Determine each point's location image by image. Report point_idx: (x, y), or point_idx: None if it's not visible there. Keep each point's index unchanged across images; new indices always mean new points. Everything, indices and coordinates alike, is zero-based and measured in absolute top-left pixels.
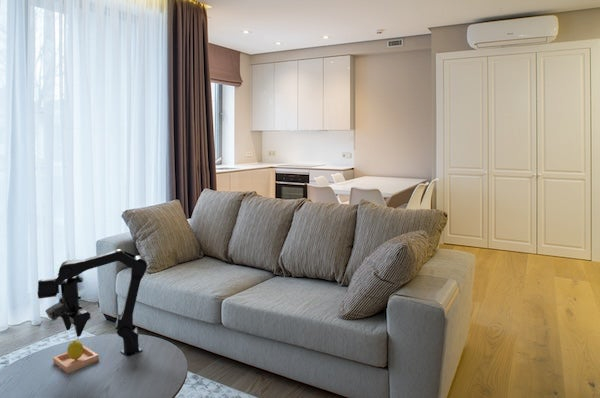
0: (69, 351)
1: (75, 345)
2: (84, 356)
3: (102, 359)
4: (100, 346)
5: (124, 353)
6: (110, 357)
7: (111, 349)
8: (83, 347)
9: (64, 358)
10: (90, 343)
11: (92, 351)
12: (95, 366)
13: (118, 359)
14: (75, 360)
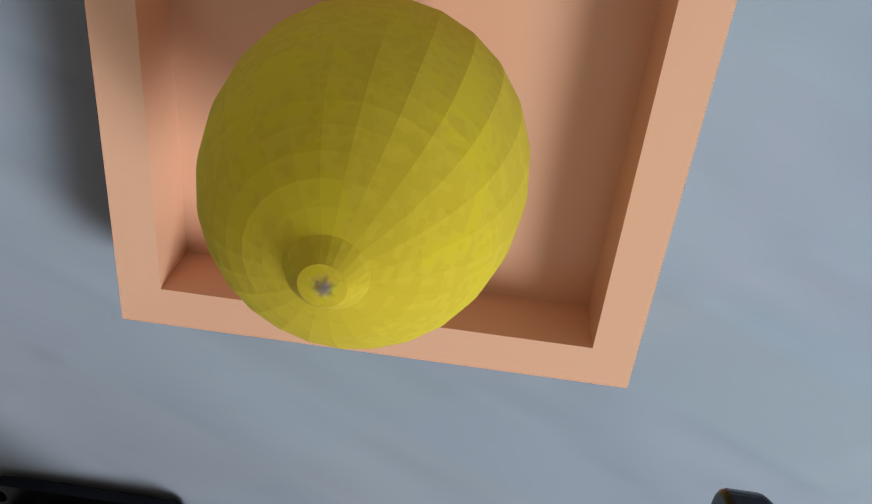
0: (313, 28)
1: (211, 195)
2: None
3: None
4: (553, 489)
5: (65, 494)
6: (141, 380)
7: (345, 496)
8: (582, 352)
9: (657, 7)
10: (771, 487)
11: None
12: (29, 148)
13: (12, 392)
14: None
